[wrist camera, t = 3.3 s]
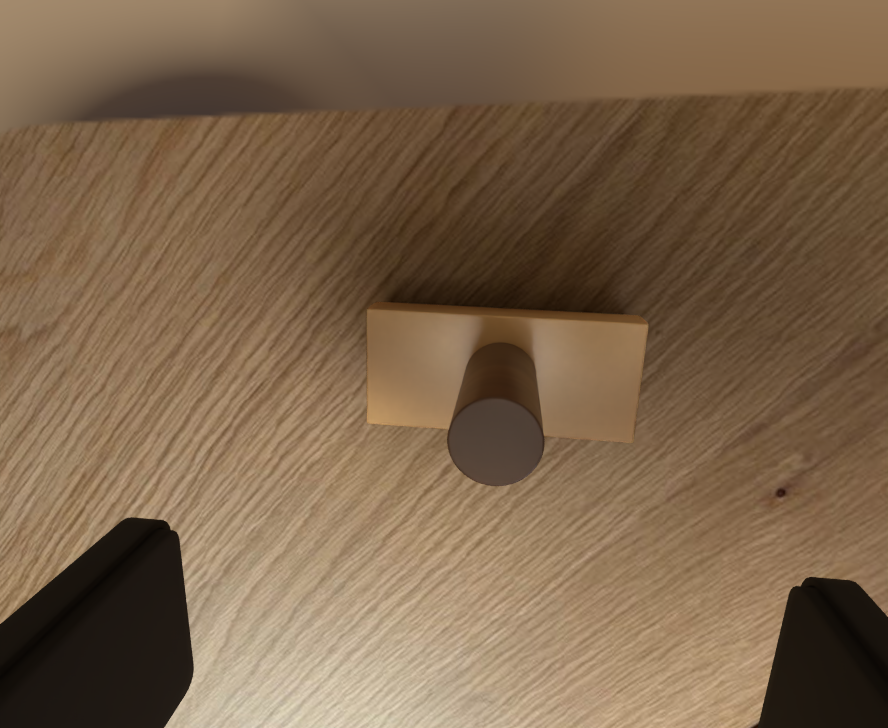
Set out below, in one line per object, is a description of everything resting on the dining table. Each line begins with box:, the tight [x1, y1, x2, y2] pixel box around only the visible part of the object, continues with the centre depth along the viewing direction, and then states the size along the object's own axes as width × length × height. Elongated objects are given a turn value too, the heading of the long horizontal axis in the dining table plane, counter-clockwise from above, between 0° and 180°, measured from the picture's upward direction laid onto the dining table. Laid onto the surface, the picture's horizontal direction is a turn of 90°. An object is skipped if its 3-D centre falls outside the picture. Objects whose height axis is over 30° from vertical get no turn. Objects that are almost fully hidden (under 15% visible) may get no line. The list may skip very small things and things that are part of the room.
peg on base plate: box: [366, 302, 649, 486], centre depth 20 cm, size 4×10×9 cm, turn 88°
